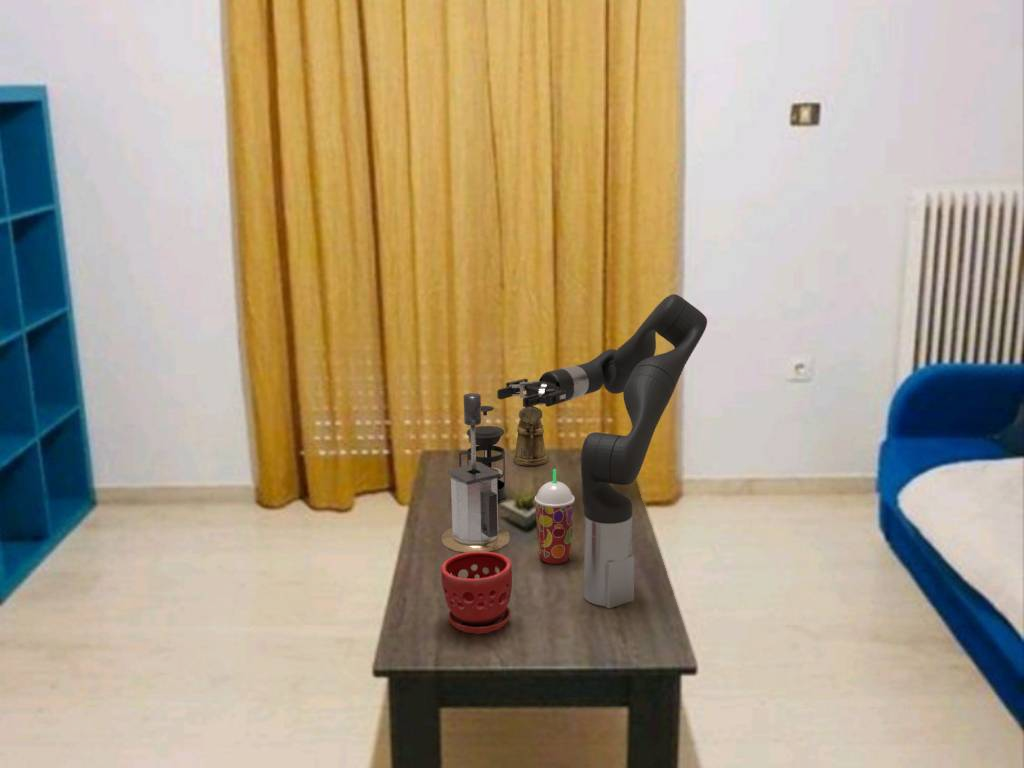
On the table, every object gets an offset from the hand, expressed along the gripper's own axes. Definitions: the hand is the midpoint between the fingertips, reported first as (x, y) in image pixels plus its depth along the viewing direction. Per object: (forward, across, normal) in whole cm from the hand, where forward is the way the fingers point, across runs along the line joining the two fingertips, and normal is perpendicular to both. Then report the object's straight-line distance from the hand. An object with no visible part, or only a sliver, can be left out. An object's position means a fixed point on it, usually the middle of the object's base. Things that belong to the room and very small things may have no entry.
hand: (511, 398), depth 242 cm
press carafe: (+11, 0, +30) cm, 32 cm away
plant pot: (+35, +30, +30) cm, 55 cm away
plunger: (+11, 0, +19) cm, 22 cm away
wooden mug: (-30, -27, +30) cm, 51 cm away
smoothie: (+5, +19, +30) cm, 36 cm away
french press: (-6, -17, +30) cm, 35 cm away
